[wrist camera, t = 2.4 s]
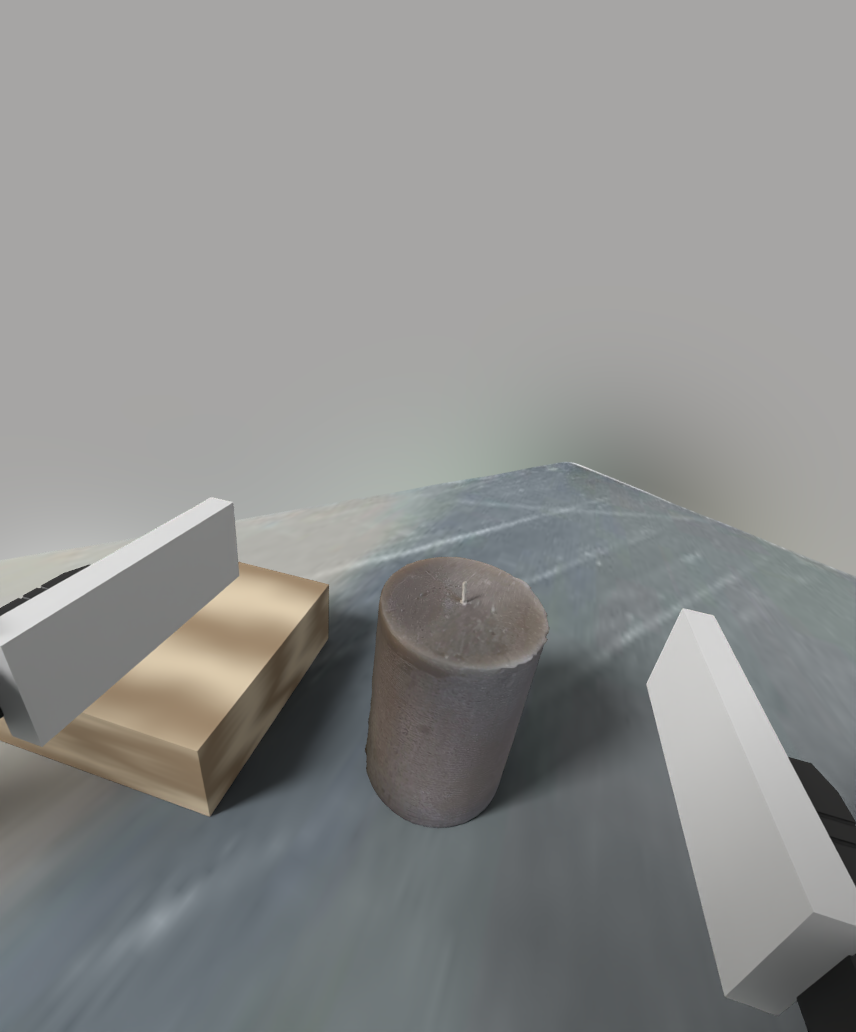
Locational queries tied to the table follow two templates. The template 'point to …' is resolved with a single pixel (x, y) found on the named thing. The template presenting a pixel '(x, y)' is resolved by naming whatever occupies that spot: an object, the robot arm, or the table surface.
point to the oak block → (201, 693)
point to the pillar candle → (449, 686)
